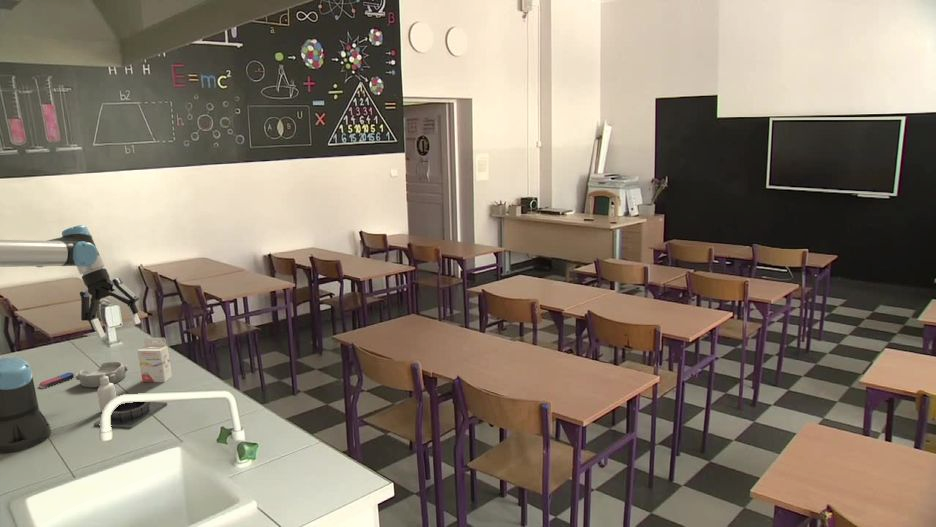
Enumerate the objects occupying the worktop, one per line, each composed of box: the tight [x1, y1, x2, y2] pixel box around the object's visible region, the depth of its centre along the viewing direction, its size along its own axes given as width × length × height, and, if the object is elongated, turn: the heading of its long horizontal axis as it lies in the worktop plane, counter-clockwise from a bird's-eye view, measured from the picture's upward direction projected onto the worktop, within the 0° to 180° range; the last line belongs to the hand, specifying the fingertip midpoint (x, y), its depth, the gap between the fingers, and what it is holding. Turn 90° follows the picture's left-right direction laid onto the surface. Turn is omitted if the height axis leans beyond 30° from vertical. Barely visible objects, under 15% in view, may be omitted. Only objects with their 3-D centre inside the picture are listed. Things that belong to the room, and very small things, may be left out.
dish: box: [74, 361, 129, 388], centre depth 230 cm, size 14×14×5 cm
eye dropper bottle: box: [97, 373, 117, 413], centre depth 205 cm, size 4×6×12 cm
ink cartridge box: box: [137, 337, 173, 383], centre depth 228 cm, size 9×5×15 cm, turn 84°
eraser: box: [38, 372, 75, 390], centre depth 232 cm, size 11×4×2 cm, turn 147°
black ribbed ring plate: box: [93, 401, 168, 429], centre depth 201 cm, size 16×13×3 cm
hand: (120, 330), depth 219 cm, fingers open, 13 cm apart
